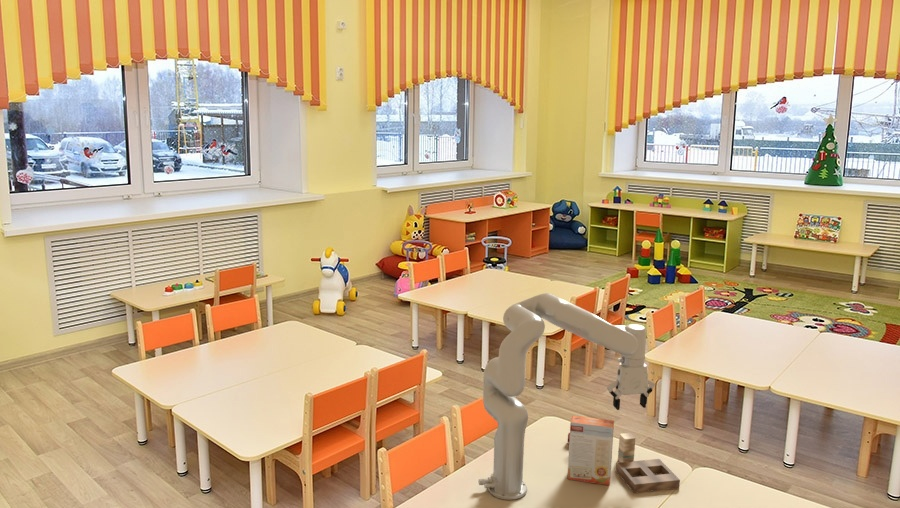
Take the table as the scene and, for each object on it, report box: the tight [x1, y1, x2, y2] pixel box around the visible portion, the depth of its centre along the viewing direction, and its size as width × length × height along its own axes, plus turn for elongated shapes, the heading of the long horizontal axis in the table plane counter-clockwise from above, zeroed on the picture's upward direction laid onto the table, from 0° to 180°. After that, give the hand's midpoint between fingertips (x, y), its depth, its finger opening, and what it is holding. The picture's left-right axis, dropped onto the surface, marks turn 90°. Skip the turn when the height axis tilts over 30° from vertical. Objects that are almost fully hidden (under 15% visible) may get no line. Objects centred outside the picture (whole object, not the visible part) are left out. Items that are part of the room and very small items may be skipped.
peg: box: [617, 432, 636, 463], centre depth 247 cm, size 4×4×10 cm
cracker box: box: [567, 415, 615, 486], centre depth 235 cm, size 14×6×21 cm, turn 74°
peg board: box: [615, 458, 681, 494], centre depth 237 cm, size 16×14×3 cm
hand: (629, 407), depth 243 cm, fingers open, 9 cm apart
